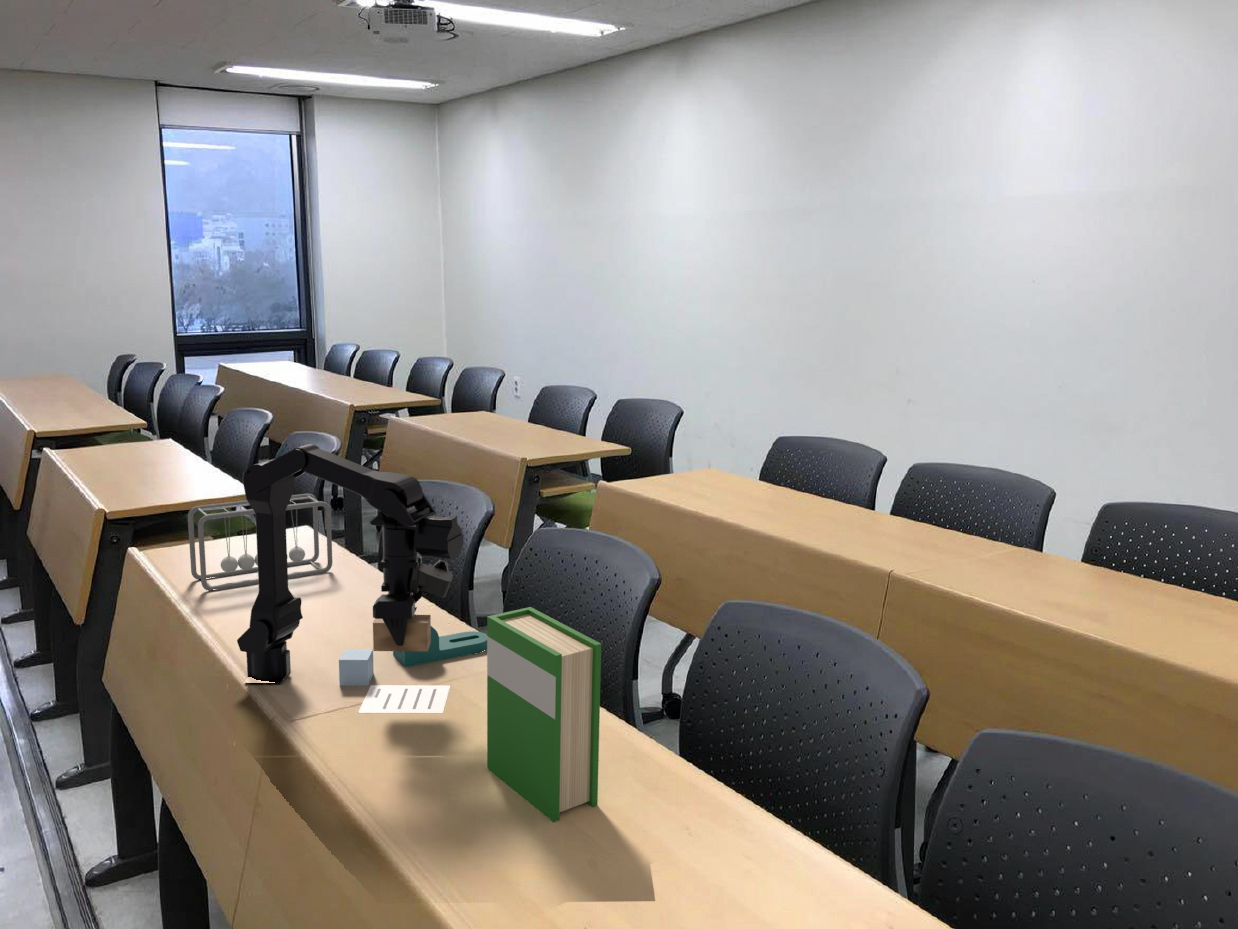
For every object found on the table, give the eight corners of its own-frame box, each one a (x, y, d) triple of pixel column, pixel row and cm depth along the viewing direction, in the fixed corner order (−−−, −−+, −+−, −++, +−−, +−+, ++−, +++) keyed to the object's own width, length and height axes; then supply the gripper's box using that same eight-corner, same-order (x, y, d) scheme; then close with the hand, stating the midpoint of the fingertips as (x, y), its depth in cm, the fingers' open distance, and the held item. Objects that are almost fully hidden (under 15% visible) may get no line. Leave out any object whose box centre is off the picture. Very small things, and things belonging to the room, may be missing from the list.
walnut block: (373, 651, 165) (372, 622, 164) (377, 642, 169) (377, 614, 168) (427, 651, 165) (427, 623, 164) (430, 642, 169) (430, 614, 168)
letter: (357, 713, 164) (357, 712, 164) (371, 685, 174) (371, 685, 174) (442, 713, 164) (442, 713, 164) (450, 686, 175) (450, 685, 175)
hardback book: (597, 805, 138) (601, 643, 133) (553, 822, 133) (556, 655, 128) (529, 755, 151) (530, 606, 147) (487, 769, 147) (487, 616, 142)
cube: (339, 686, 174) (338, 659, 173) (345, 674, 179) (345, 649, 178) (368, 686, 174) (367, 660, 173) (373, 675, 179) (373, 649, 178)
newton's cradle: (318, 561, 246) (316, 492, 242) (333, 572, 237) (331, 500, 234) (191, 581, 228) (186, 506, 225) (202, 593, 220) (197, 516, 217)
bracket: (405, 668, 183) (404, 628, 181) (393, 656, 188) (392, 617, 187) (493, 651, 192) (493, 613, 190) (479, 639, 198) (479, 602, 196)
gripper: (442, 569, 155) (443, 662, 158) (455, 537, 173) (455, 621, 176) (371, 569, 154) (373, 662, 157) (391, 536, 173) (393, 621, 176)
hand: (402, 640), depth 167 cm, fingers closed on walnut block, 4 cm apart
